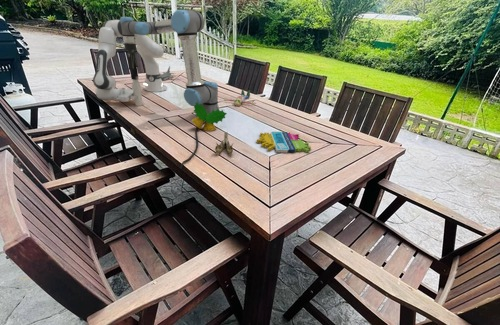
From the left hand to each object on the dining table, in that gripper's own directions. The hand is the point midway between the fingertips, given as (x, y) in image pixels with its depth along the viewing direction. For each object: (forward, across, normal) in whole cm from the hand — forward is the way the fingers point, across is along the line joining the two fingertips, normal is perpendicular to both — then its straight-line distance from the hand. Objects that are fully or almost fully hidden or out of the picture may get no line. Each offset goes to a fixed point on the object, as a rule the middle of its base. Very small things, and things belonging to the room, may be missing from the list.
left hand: (138, 96), depth 194 cm
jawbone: (+66, -73, +6) cm, 99 cm away
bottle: (-1, 0, +6) cm, 7 cm away
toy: (+77, +20, +7) cm, 80 cm away
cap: (-1, 0, -14) cm, 14 cm away
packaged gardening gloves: (+99, -60, +6) cm, 116 cm away
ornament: (+56, -42, +6) cm, 70 cm away
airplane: (-3, +88, +7) cm, 89 cm away
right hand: (-1, 0, -13) cm, 13 cm away
